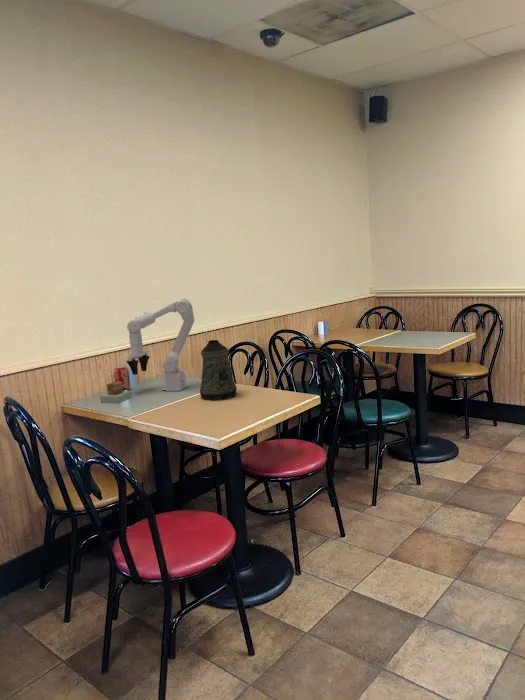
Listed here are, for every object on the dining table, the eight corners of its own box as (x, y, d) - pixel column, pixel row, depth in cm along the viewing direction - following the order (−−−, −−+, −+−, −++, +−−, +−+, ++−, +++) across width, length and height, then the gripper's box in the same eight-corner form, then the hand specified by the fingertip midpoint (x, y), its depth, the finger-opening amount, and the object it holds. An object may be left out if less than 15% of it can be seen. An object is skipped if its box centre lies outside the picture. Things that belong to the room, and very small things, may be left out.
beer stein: (217, 402, 237) (211, 345, 233) (188, 397, 251) (183, 342, 246) (244, 393, 249) (240, 338, 245) (216, 389, 262) (211, 336, 258)
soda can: (132, 388, 278) (129, 364, 276) (128, 391, 271) (125, 367, 269) (119, 388, 279) (116, 365, 277) (114, 392, 272) (111, 368, 270)
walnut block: (123, 392, 257) (122, 381, 256) (116, 395, 253) (115, 384, 252) (114, 392, 259) (113, 381, 258) (107, 394, 254) (106, 384, 254)
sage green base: (131, 397, 259) (131, 390, 259) (119, 403, 250) (118, 396, 249) (114, 396, 263) (113, 390, 262) (100, 402, 254) (100, 396, 253)
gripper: (137, 342, 273) (141, 369, 275) (120, 347, 260) (123, 376, 262) (150, 342, 270) (153, 369, 273) (133, 347, 257) (136, 376, 259)
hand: (139, 372), depth 267 cm, fingers open, 7 cm apart
